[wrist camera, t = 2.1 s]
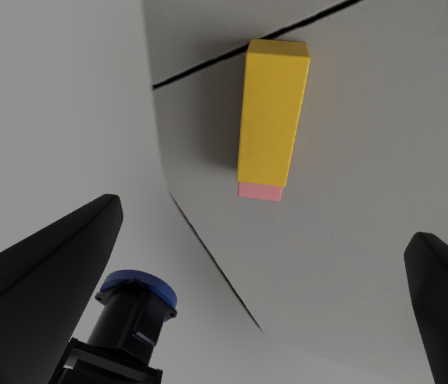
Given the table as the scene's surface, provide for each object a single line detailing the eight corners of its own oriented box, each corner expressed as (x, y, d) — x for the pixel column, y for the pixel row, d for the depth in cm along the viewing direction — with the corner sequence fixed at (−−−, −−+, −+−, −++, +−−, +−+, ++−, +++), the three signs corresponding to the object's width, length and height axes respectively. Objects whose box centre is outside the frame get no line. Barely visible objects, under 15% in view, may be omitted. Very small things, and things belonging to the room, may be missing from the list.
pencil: (282, 176, 18) (282, 203, 16) (239, 172, 18) (235, 198, 16) (307, 41, 13) (311, 57, 11) (250, 38, 13) (246, 52, 12)
